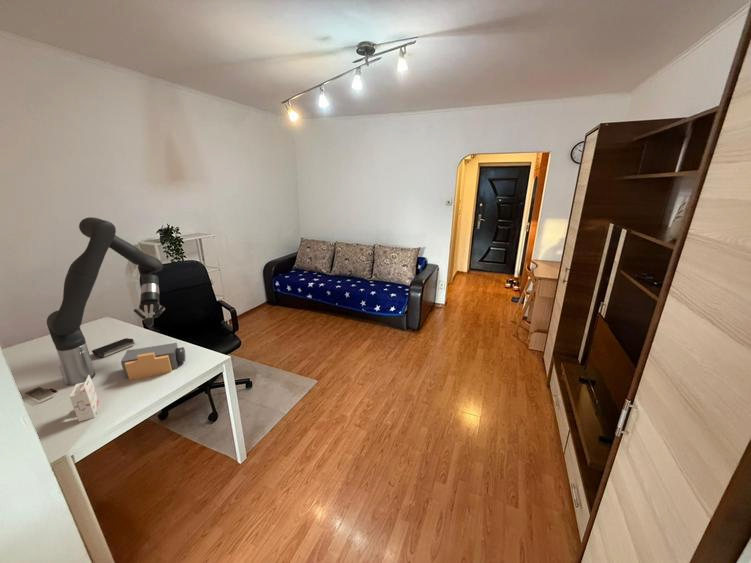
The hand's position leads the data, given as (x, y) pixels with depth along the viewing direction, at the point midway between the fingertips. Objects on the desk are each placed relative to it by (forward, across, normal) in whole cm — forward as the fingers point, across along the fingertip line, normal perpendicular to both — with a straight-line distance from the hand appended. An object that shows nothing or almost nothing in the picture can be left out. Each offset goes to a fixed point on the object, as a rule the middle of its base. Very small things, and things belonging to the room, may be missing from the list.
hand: (149, 326), depth 143 cm
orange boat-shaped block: (+23, 0, +4) cm, 23 cm away
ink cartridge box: (+36, -17, -8) cm, 41 cm away
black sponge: (0, -22, +30) cm, 37 cm away
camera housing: (+19, +1, +9) cm, 21 cm away
